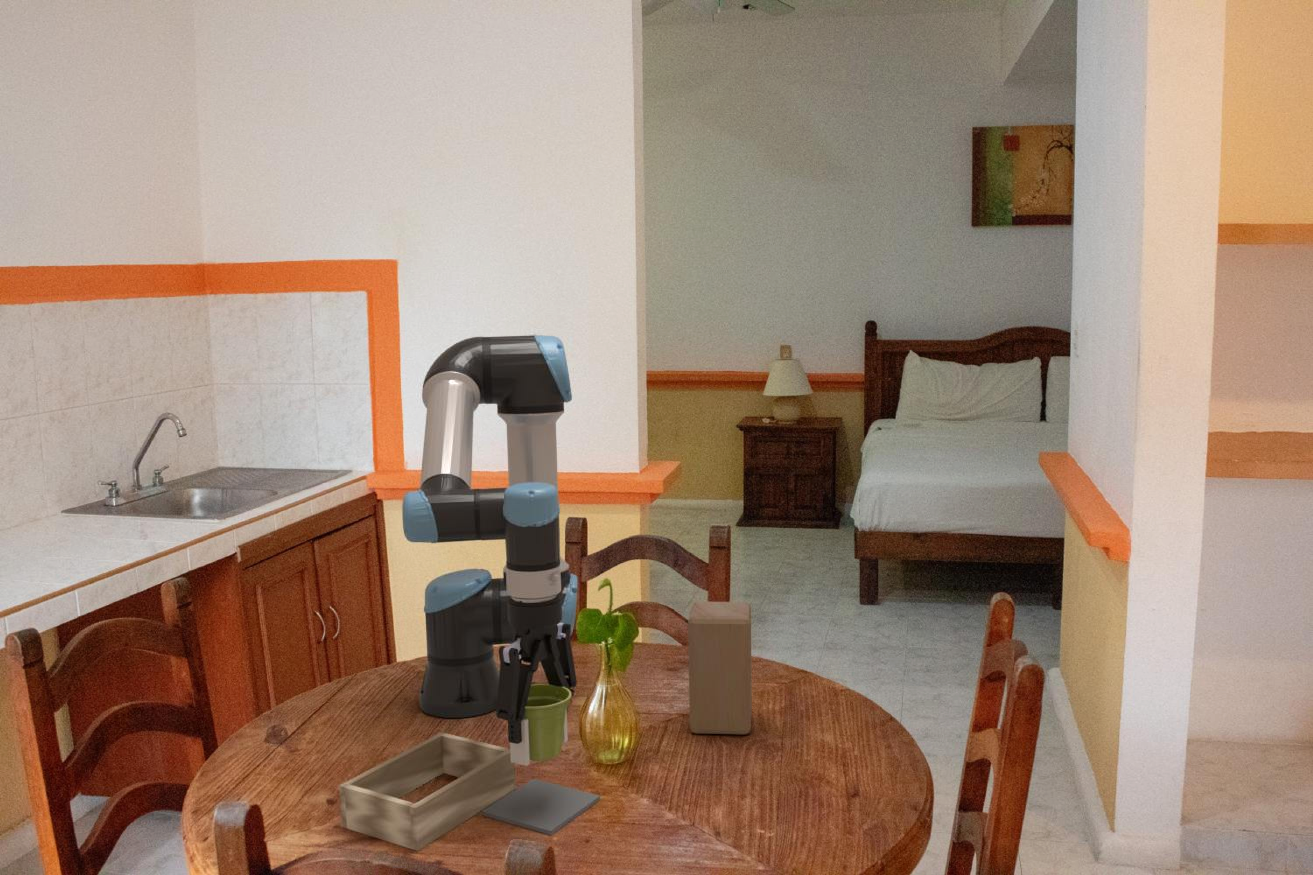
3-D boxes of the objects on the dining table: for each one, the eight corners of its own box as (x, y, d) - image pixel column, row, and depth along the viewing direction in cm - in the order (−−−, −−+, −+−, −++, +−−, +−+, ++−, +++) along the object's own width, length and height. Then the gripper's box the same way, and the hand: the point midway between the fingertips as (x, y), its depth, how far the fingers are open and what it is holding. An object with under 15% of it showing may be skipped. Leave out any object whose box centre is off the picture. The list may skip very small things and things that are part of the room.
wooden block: (751, 713, 197) (750, 600, 194) (750, 736, 187) (749, 618, 184) (693, 712, 198) (691, 599, 195) (689, 735, 188) (687, 617, 185)
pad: (481, 815, 161) (481, 811, 161) (533, 782, 171) (533, 778, 171) (551, 835, 155) (551, 830, 155) (600, 799, 165) (600, 795, 165)
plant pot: (499, 746, 165) (497, 688, 163) (562, 736, 168) (560, 679, 167) (515, 772, 156) (512, 711, 155) (581, 760, 159) (579, 700, 158)
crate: (341, 826, 159) (339, 785, 158) (443, 769, 176) (441, 731, 176) (417, 850, 152) (415, 808, 151) (515, 788, 169) (514, 749, 169)
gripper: (508, 618, 148) (514, 785, 151) (599, 580, 166) (603, 730, 169) (463, 611, 152) (470, 773, 155) (556, 574, 170) (561, 720, 173)
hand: (539, 750), depth 162 cm, fingers closed on plant pot, 8 cm apart
